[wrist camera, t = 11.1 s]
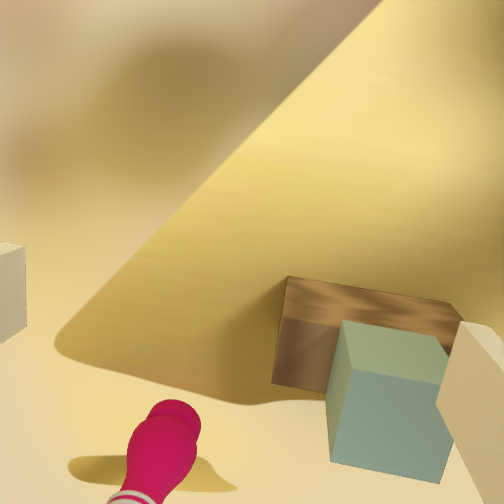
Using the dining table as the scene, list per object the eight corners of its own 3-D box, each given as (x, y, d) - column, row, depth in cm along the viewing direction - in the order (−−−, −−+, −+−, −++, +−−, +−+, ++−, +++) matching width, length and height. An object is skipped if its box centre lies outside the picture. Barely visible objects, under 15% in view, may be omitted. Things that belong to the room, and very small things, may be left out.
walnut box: (449, 303, 41) (493, 354, 31) (433, 357, 42) (471, 421, 33) (287, 275, 42) (282, 316, 32) (278, 329, 44) (271, 383, 34)
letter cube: (436, 336, 31) (472, 390, 25) (413, 414, 33) (441, 484, 27) (342, 319, 32) (352, 368, 25) (325, 397, 34) (330, 461, 27)
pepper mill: (144, 391, 48) (37, 561, 29) (205, 398, 47) (138, 577, 28) (146, 444, 50) (47, 636, 31) (205, 451, 49) (142, 652, 30)
